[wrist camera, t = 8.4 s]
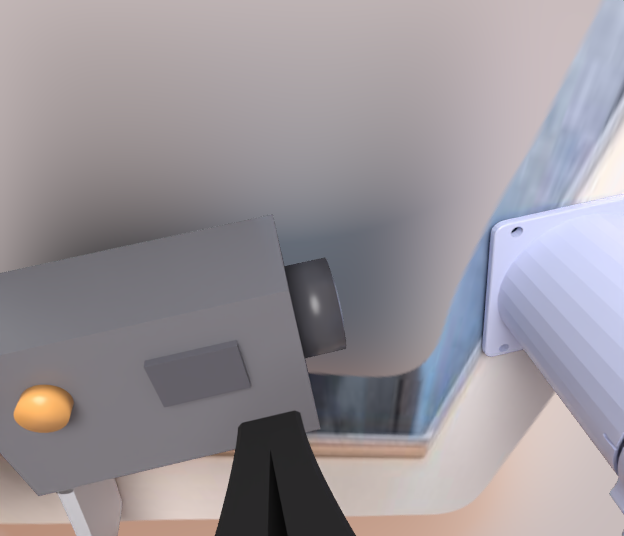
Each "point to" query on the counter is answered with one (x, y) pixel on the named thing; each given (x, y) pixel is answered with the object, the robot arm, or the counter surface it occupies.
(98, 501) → the side door
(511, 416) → the counter surface
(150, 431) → the block
